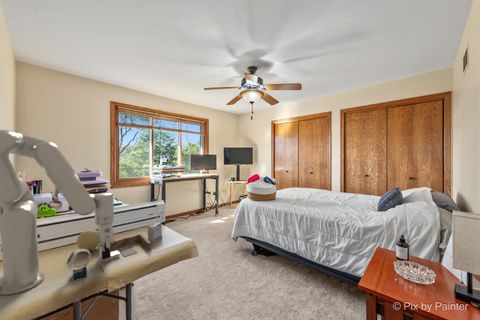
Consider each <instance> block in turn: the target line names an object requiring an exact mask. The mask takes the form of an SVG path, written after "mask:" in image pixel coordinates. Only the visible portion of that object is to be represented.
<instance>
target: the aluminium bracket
mask: <svg viewBox="0 0 480 320" xmlns="http://www.w3.org/2000/svg"><path fill="white" fill-rule="evenodd" d="M104 244H106V243H104ZM105 247H106V246H105ZM102 251H103V246H102V245H101V243H99V244H98V246H97V252H98V258H97V259H98V262H99V264H102V263H105V262H108V261H109V262H110V261H113V260H115V259H118V258H120V251H118V250H114V251H110V255H111V257H110V258H107V259H104V260H103V259H102Z"/></svg>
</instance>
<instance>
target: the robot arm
mask: <svg viewBox="0 0 480 320" xmlns="http://www.w3.org/2000/svg"><path fill="white" fill-rule="evenodd" d="M10 154H12V155H17V156H18V155H19V156H20V157H21V156H22V157H25V158H28V159H29V158H30V159H34V160H35V162H36V163H37V164H38V166H39V167H40V168H41V169H42V171H43V172H44V173H45V174H46V176H47V178H49V180H50V181H51V182H52V184H53V185H54V186H55V188H56V190H58V191H59V192H60V194H61V195H62V197H63V198H64V199H65V201H66V203H67V204H68V205H69V206H70V208H71V209H72V210H73V211H74V212H75V213H76V214H77V215H79V216H89V215H91V214H92V213H93V212H94V225H97V231H98V239H99V242H100V243H101V245H102V246H103V251H102V259H103V260H104V259H107V258H110V257H111V255H110V252H111V250H110V242H111V243H113V242H114V228H113V227H114V226H113V223H114V221H115V218H114V217H115V211H114V208H115V207H114V194H113V193H111V192H101V193H100V192H99V193H89V192H88V190H87V189H86V187H85V186H84V185H83V183H82V182H81V179H80V177H79V175H78V174H77V171H76V170H75V169H74V168H73V166H72V165H71V163H70V162H69V160H67V157H66V156H65V155H64V153H63V152H62V151H61V149H60V148H59V146H58V145H57V144H56V143H53V142H51V141H47V140H42V139H39V138H37V137H36V138H35V137H32V136H29V135H25V134H22V133H20V132H19V133H18V132H16V131H13V130H8V129H0V207H1V209H2V211H3V212H2V213H1V215H0V241H1V244H0V245H1V252H2V253H1V255H2V269H3V273H2V274H3V275H2V277H1V278H0V295H1V294H3V295H2V296H9V295H10V294H11V295H14V294H15V293H16V294H19V293H21V292H25V291H27V290H30V289H32V288H34V287H35V286H38V285H39V284H40V283H42V281H43V280H45V275H46V274H45V272H42V271H40V262H39V261H40V260H39V241H38V224H37V223H38V222H37V221H38V219H37V218H38V212H39V207H38V204H37V202H36V200H35V197H34V195H33V193H32V192H31V189H30V187H29V184H28V183H27V181H25V179H23V178H22V177H20V176H18V174H17V173H16V171H15V168H14V166H13V164H12V162H11V160H10ZM104 243H106V244H104ZM105 246H106V247H105ZM16 294H15V295H16Z"/></svg>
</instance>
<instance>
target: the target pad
mask: <svg viewBox="0 0 480 320" xmlns="http://www.w3.org/2000/svg"><path fill="white" fill-rule="evenodd" d="M118 250H119V252H120V253H121V254H122V255H123V257H125V258H126V257H128V256H131V255H133V254H137V253H138V251H137V250H136V248H134V247H133V244H129V245H126V246H122V247H119V248H118Z"/></svg>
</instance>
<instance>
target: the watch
mask: <svg viewBox="0 0 480 320" xmlns="http://www.w3.org/2000/svg"><path fill="white" fill-rule="evenodd" d="M82 251H83V252H82ZM84 252H86V253H88V256H87V258H86V261H85V262H84V264H80V265H79V264H78V265H75V266H71V265H73V263H74V262H75V260H76V258H77V256H78V254H79V253H84ZM91 259H92V254H91V252H90V250H87V249H79V248H78V249H76V250H75V251H72V252H71V254H70V255H69V257H68V259H67V261H66V265H67V266H68V269H69V270H70V271H72V276H73V281H74V280H75V281H78V280H81V279H83V278H87V277H88V273H87V272H88V269H87V266H88V265H89V263H90V261H91ZM80 278H81V279H80ZM77 279H78V280H77Z"/></svg>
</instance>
